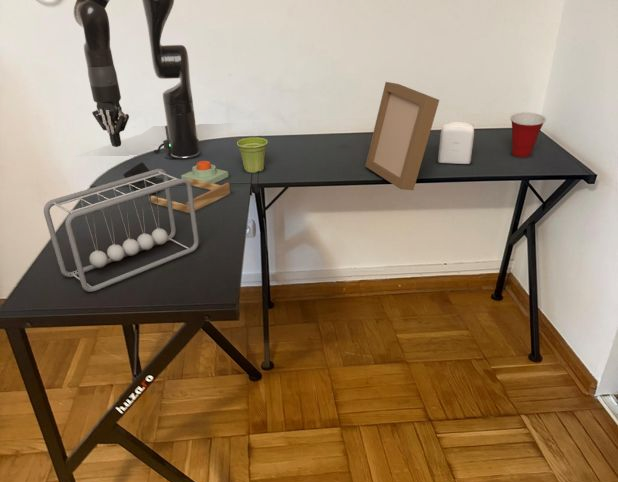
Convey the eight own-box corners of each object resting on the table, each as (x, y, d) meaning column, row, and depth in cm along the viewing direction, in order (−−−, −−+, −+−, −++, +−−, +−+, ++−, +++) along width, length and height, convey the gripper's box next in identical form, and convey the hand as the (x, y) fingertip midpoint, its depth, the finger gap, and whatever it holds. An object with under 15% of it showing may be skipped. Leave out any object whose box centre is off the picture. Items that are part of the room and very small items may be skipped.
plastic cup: (501, 158, 193) (508, 119, 186) (506, 148, 201) (512, 111, 194) (536, 161, 190) (544, 122, 183) (539, 151, 198) (547, 114, 191)
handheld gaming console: (161, 189, 171) (137, 160, 168) (144, 204, 173) (119, 175, 170) (174, 181, 181) (151, 153, 178) (157, 195, 183) (135, 168, 180)
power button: (194, 169, 180) (193, 163, 179) (203, 165, 183) (202, 160, 182) (204, 171, 178) (204, 166, 177) (213, 167, 181) (212, 162, 180)
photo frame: (400, 192, 170) (407, 100, 156) (365, 169, 187) (368, 83, 172) (444, 184, 175) (455, 93, 160) (406, 162, 191) (412, 78, 177)
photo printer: (437, 163, 190) (441, 123, 183) (437, 159, 193) (442, 119, 186) (470, 165, 188) (476, 125, 181) (470, 161, 192) (476, 121, 184)
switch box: (181, 180, 181) (180, 169, 179) (203, 171, 188) (202, 160, 186) (207, 187, 177) (205, 175, 175) (228, 176, 183) (227, 165, 181)
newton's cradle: (85, 296, 126) (64, 216, 115) (62, 279, 132) (39, 202, 121) (200, 249, 143) (191, 176, 132) (175, 236, 149) (164, 165, 138)
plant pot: (264, 175, 184) (263, 147, 178) (235, 174, 185) (232, 145, 180) (272, 165, 191) (270, 138, 186) (244, 164, 193) (241, 136, 188)
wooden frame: (151, 203, 167) (149, 192, 165) (192, 184, 179) (191, 174, 177) (190, 213, 161) (188, 202, 159) (230, 193, 172) (229, 183, 170)
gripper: (131, 82, 165) (142, 145, 175) (98, 78, 171) (110, 139, 181) (110, 87, 160) (123, 152, 170) (77, 83, 166) (91, 146, 176)
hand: (116, 146), depth 176 cm, fingers closed
